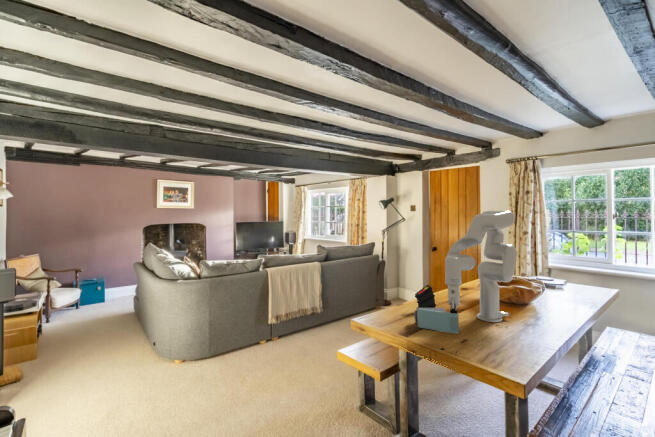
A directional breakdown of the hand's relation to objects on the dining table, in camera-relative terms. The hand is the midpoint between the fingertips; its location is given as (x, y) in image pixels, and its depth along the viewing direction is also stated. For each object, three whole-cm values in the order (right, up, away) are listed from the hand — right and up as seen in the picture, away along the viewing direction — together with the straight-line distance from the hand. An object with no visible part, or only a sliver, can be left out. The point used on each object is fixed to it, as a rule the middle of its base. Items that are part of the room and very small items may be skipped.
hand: (453, 317), depth 152 cm
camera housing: (-8, -7, +10) cm, 14 cm away
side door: (-8, -7, +1) cm, 10 cm away
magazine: (-4, -6, +32) cm, 33 cm away
